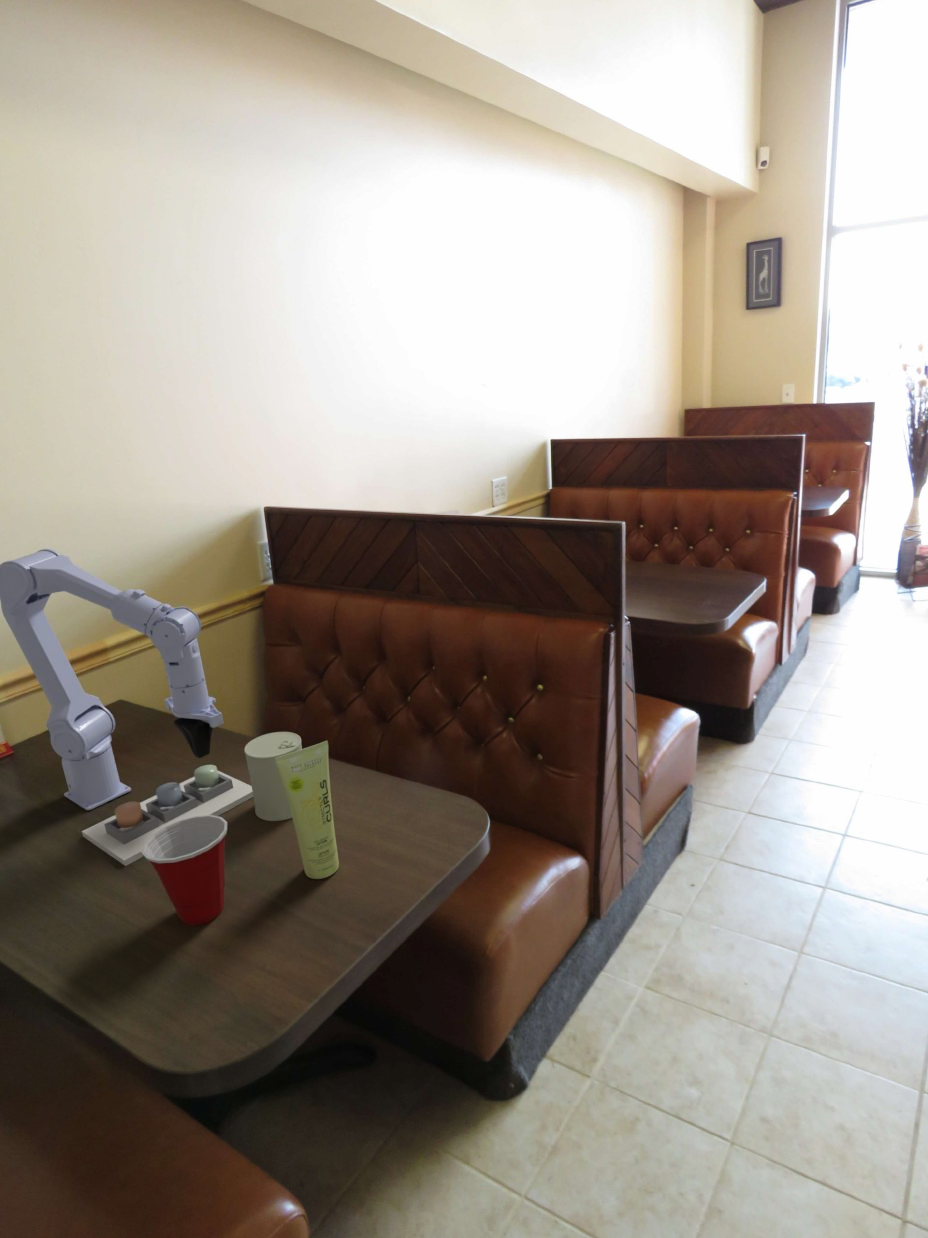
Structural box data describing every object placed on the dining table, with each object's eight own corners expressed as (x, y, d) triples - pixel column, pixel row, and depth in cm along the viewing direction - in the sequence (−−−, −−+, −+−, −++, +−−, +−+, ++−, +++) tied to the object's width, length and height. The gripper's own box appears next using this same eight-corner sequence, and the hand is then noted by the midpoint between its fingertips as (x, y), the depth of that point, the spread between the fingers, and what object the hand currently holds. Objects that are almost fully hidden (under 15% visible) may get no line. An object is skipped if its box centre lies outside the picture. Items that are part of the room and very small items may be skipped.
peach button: (113, 823, 119) (110, 810, 118) (136, 812, 122) (132, 799, 121) (125, 830, 117) (121, 817, 116) (147, 819, 119) (144, 805, 119)
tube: (327, 885, 104) (307, 760, 98) (295, 880, 105) (274, 757, 100) (345, 860, 109) (327, 740, 103) (314, 856, 111) (295, 737, 105)
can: (297, 822, 120) (286, 756, 116) (245, 820, 122) (232, 754, 118) (319, 792, 128) (309, 729, 125) (270, 790, 130) (259, 728, 127)
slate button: (154, 803, 124) (151, 790, 123) (175, 792, 127) (172, 780, 126) (166, 809, 122) (163, 796, 121) (187, 799, 124) (184, 786, 124)
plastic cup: (213, 875, 108) (198, 802, 105) (258, 903, 101) (244, 826, 98) (143, 918, 100) (124, 841, 97) (187, 951, 94) (168, 870, 90)
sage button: (191, 784, 129) (189, 772, 128) (211, 774, 132) (208, 762, 131) (204, 790, 127) (201, 778, 126) (223, 780, 129) (221, 768, 129)
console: (83, 836, 121) (79, 822, 120) (212, 772, 138) (210, 760, 137) (125, 866, 112) (121, 851, 111) (258, 794, 129) (255, 780, 129)
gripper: (233, 681, 122) (247, 755, 126) (185, 666, 131) (199, 736, 135) (194, 696, 117) (210, 773, 121) (147, 679, 126) (163, 752, 130)
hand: (202, 755), depth 128 cm, fingers closed
